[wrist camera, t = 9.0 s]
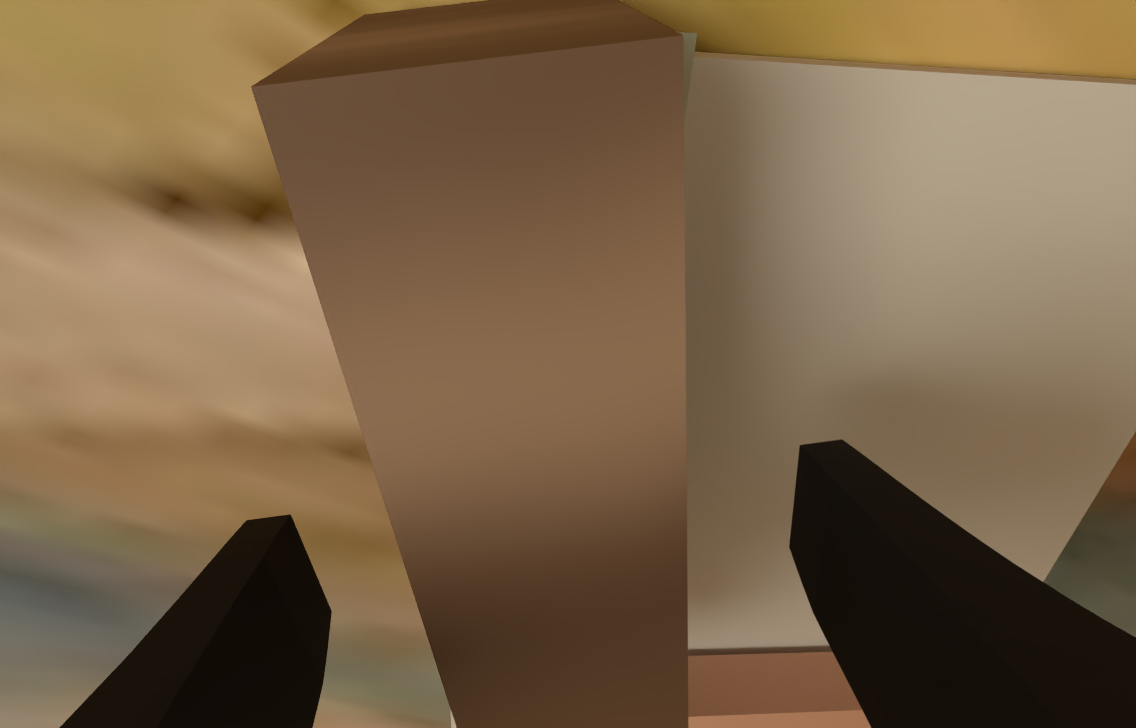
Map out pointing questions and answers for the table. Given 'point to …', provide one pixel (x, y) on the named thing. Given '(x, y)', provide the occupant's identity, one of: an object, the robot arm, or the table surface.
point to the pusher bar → (512, 335)
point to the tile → (771, 692)
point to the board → (898, 309)
